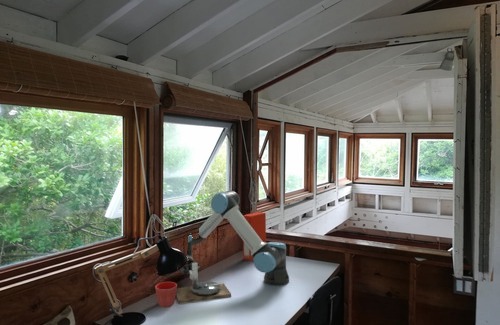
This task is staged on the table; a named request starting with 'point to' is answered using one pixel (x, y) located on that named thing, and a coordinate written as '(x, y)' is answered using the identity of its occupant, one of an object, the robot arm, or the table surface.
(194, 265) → the wheel
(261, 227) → the file binder
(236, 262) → the table surface
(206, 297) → the walnut base board
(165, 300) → the flower pot
